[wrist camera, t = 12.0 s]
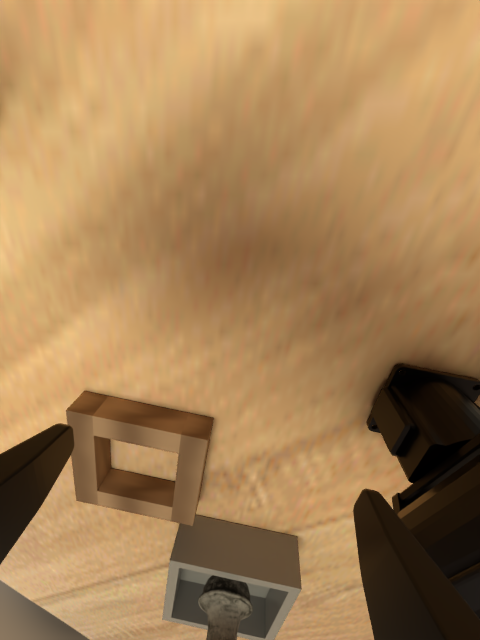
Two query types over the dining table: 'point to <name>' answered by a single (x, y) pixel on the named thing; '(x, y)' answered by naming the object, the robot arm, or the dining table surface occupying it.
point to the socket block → (146, 430)
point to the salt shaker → (225, 606)
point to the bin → (233, 573)
